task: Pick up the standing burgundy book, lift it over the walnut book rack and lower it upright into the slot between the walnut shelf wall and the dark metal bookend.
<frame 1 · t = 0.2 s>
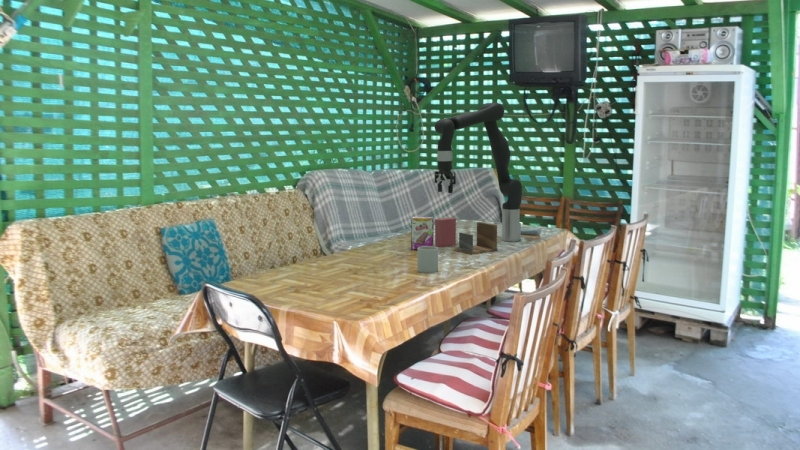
hand: (445, 192, 336), 29 cm above the table, fingers open, 8 cm apart
book rack: (475, 250, 333), on the table
mug: (429, 270, 289), on the table
burgundy book: (445, 245, 349), on the table
candy bar box: (422, 249, 339), on the table
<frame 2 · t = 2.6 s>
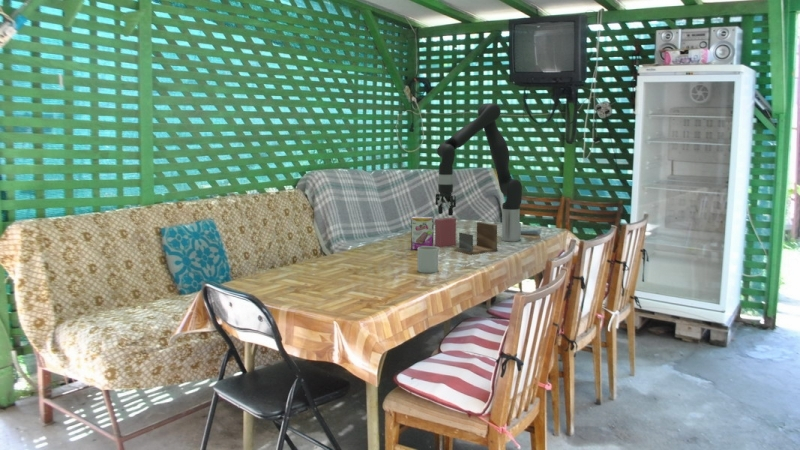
hand: (445, 214, 347), 16 cm above the table, fingers open, 8 cm apart
nothing on the table moved.
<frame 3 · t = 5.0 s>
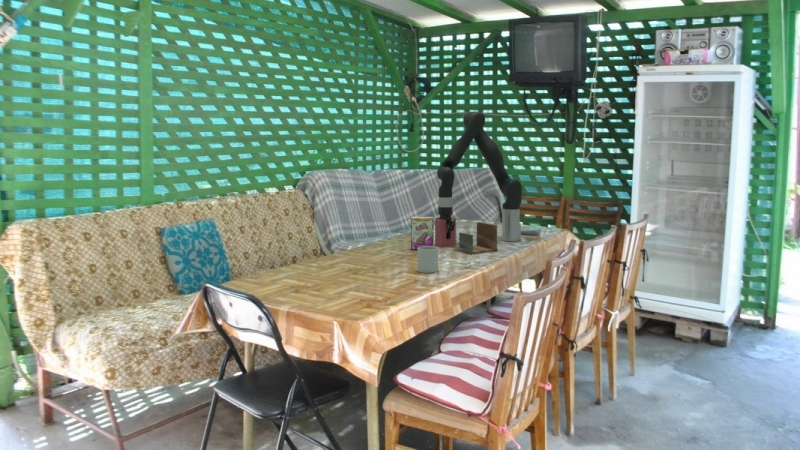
hand: (445, 238, 348), 4 cm above the table, fingers closed on burgundy book, 4 cm apart
burgundy book: (445, 245, 349), on the table, touching gripper
everything else where it was.
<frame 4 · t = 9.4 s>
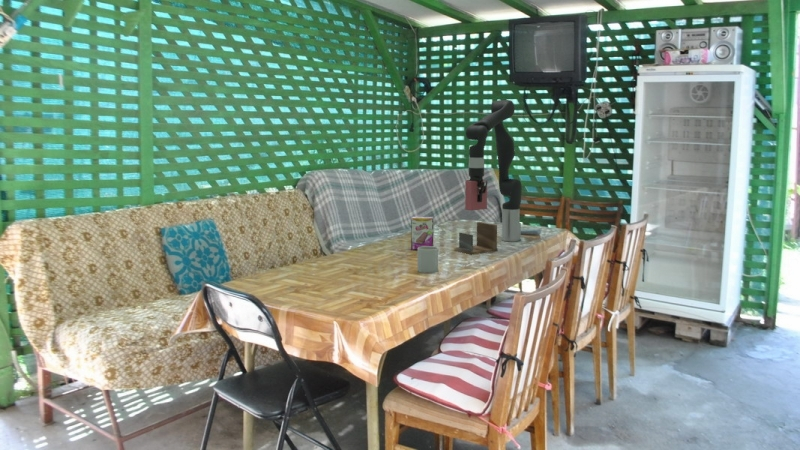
hand: (476, 201, 330), 25 cm above the table, fingers closed on burgundy book, 4 cm apart
burgundy book: (476, 209, 330), point 21 cm above the table, touching gripper
everything else where it was.
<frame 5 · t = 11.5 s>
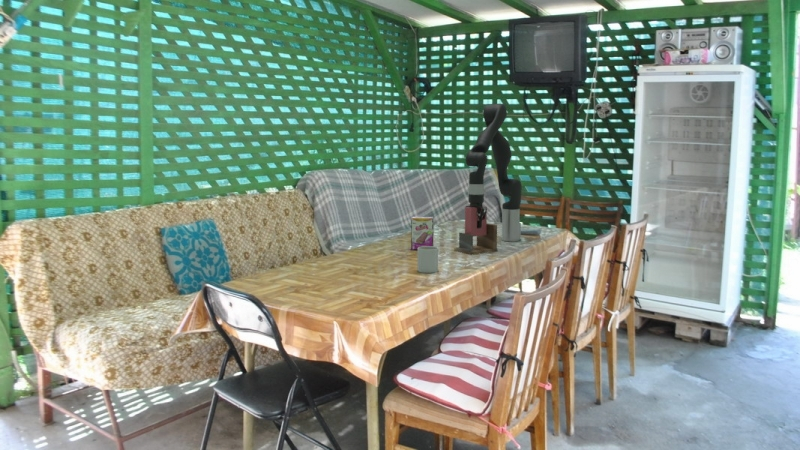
hand: (475, 227, 331), 12 cm above the table, fingers closed on burgundy book, 4 cm apart
burgundy book: (475, 235, 332), point 8 cm above the table, touching gripper
everything else where it was.
when the fingers open (6 cm above the table, at t = 13.6 s): burgundy book stays where it is, resting on book rack.
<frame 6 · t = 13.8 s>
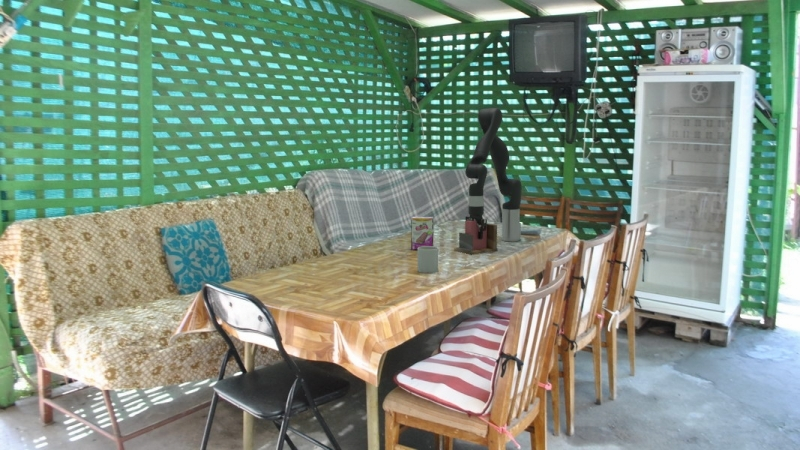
hand: (475, 238, 332), 6 cm above the table, fingers open, 6 cm apart
burgundy book: (475, 248, 333), point 1 cm above the table, touching book rack
everything else where it was.
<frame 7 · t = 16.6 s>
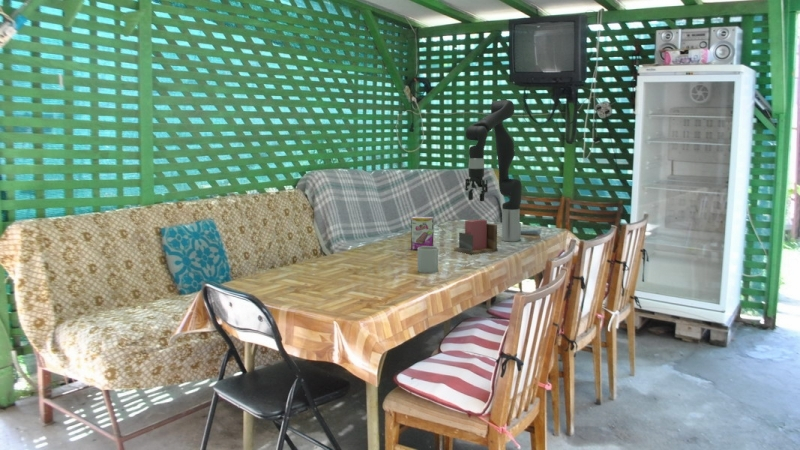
hand: (476, 200, 330), 25 cm above the table, fingers open, 8 cm apart
nothing on the table moved.
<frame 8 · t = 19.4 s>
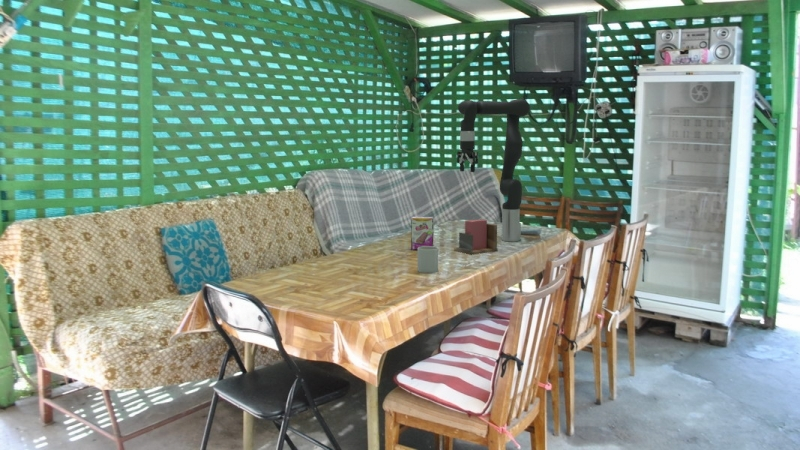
hand: (467, 171, 346), 38 cm above the table, fingers open, 8 cm apart
nothing on the table moved.
at the end: burgundy book 0.0 cm off-centre on the book rack, point 1.2 cm above the book rack's base; burgundy book tilted 0°; the gripper is holding nothing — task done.
